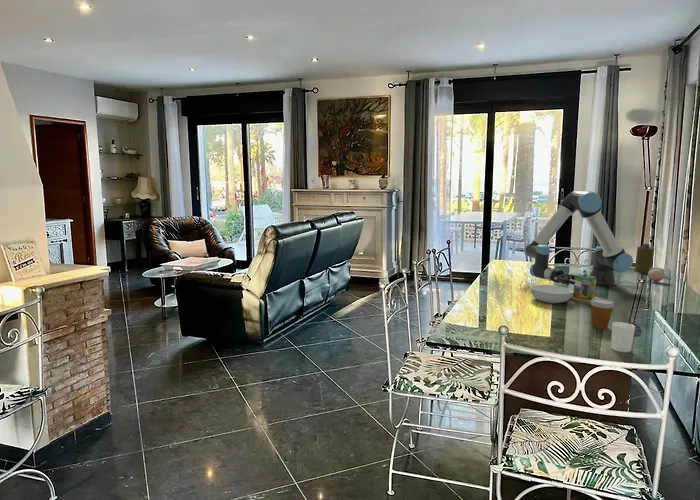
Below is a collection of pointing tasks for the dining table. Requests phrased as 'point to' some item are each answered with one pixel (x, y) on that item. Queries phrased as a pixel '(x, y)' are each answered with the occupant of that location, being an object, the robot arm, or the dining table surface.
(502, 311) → the dining table surface
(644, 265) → the canister
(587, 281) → the chalk box
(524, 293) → the dining table surface
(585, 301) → the oak board
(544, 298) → the serving bowl
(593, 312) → the disposable coffee cup
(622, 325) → the white cup
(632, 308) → the dining table surface
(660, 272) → the decorative fruit
